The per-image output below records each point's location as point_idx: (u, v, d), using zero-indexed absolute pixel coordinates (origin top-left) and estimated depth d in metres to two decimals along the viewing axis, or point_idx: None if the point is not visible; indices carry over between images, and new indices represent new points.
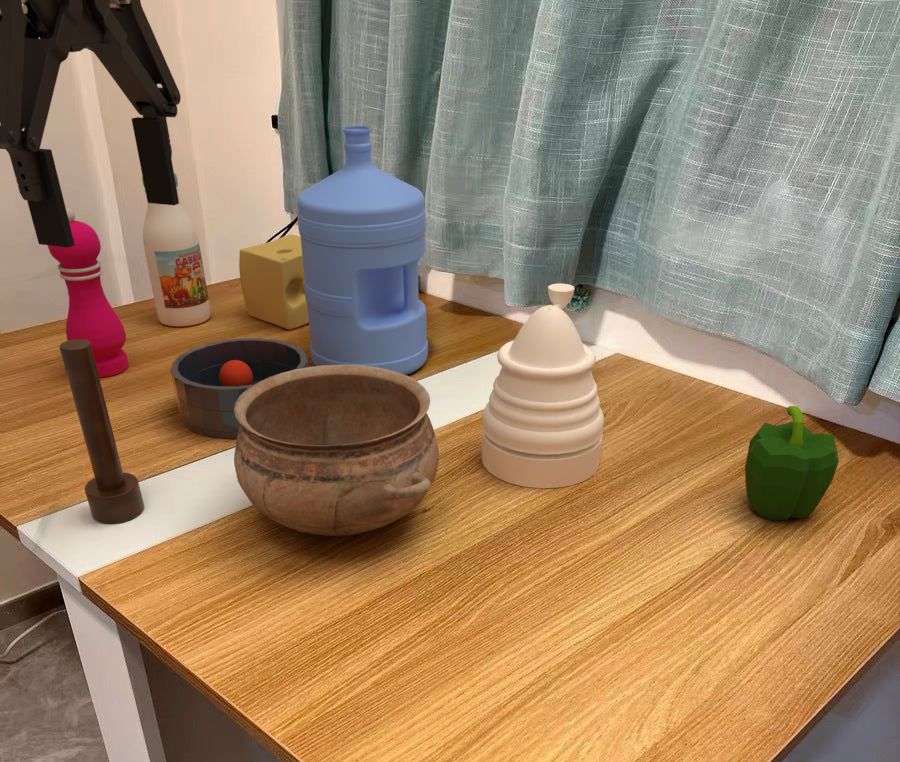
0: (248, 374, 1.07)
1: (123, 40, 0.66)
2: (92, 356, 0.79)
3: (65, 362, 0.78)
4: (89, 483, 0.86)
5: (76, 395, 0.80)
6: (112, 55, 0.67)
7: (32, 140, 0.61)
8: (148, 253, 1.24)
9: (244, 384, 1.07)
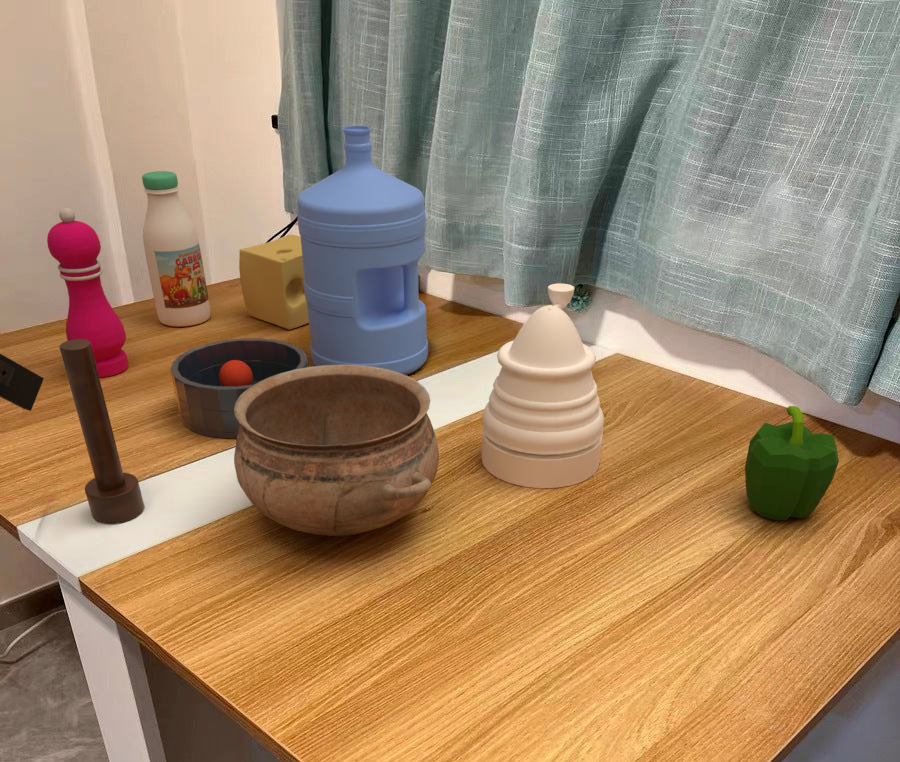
0: (248, 374, 1.07)
1: None
2: (92, 356, 0.79)
3: (65, 362, 0.78)
4: (89, 483, 0.86)
5: (76, 395, 0.80)
6: None
7: None
8: (148, 253, 1.24)
9: (244, 384, 1.07)
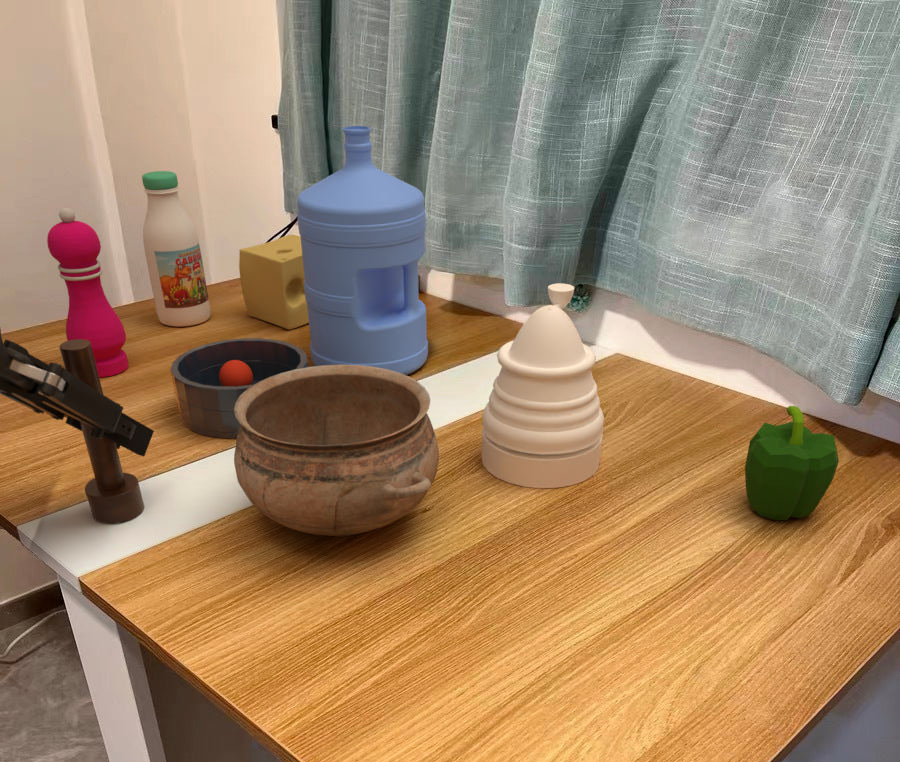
0: (248, 374, 1.07)
1: (31, 402, 0.74)
2: (92, 356, 0.79)
3: (65, 362, 0.78)
4: (89, 483, 0.86)
5: None
6: None
7: (54, 417, 0.82)
8: (148, 253, 1.24)
9: (244, 384, 1.07)
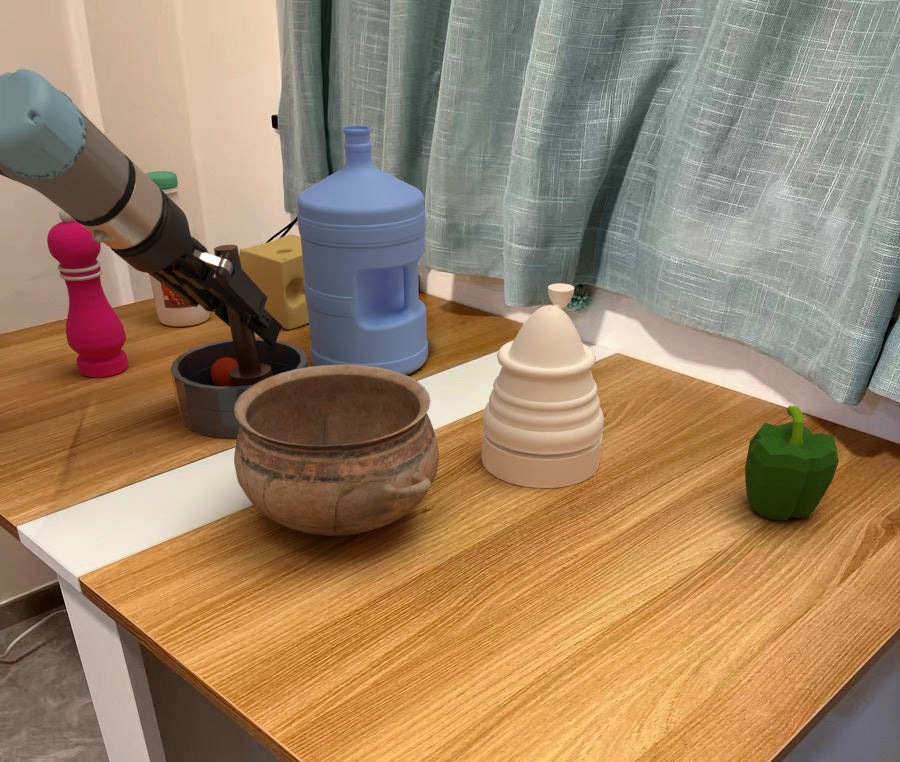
0: (233, 361, 1.07)
1: (201, 288, 0.93)
2: (239, 257, 0.98)
3: None
4: (232, 370, 1.06)
5: None
6: None
7: None
8: None
9: None
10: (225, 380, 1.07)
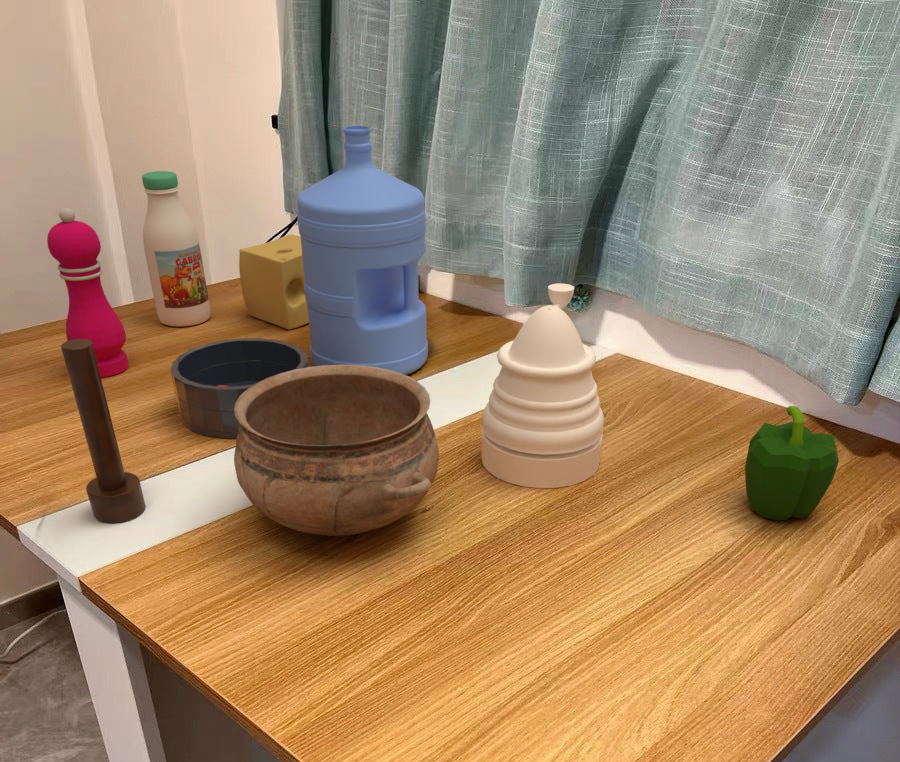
0: None
1: None
2: (93, 356, 0.79)
3: (66, 361, 0.78)
4: (91, 481, 0.87)
5: (77, 394, 0.80)
6: None
7: None
8: (148, 253, 1.24)
9: None
10: None
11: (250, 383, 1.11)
